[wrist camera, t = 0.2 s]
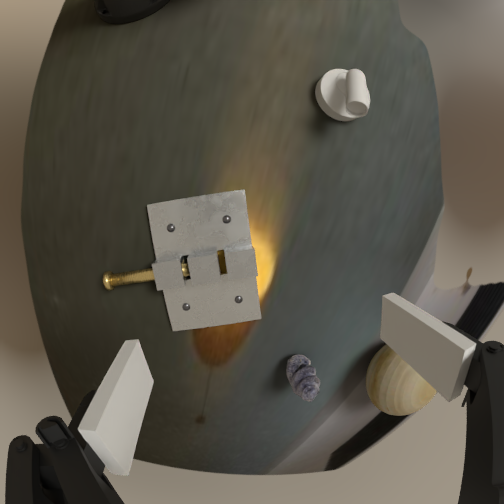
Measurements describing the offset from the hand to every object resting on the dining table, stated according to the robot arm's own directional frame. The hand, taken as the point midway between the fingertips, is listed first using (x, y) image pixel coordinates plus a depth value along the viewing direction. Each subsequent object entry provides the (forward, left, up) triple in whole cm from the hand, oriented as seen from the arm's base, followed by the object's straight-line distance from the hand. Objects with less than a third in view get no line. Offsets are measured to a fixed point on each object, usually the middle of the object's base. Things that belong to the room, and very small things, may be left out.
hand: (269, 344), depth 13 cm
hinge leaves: (+2, -5, -28) cm, 28 cm away
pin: (+2, -12, -28) cm, 30 cm away
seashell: (+22, +7, -28) cm, 36 cm away
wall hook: (-21, +19, -28) cm, 40 cm away
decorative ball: (+27, +26, -28) cm, 47 cm away
